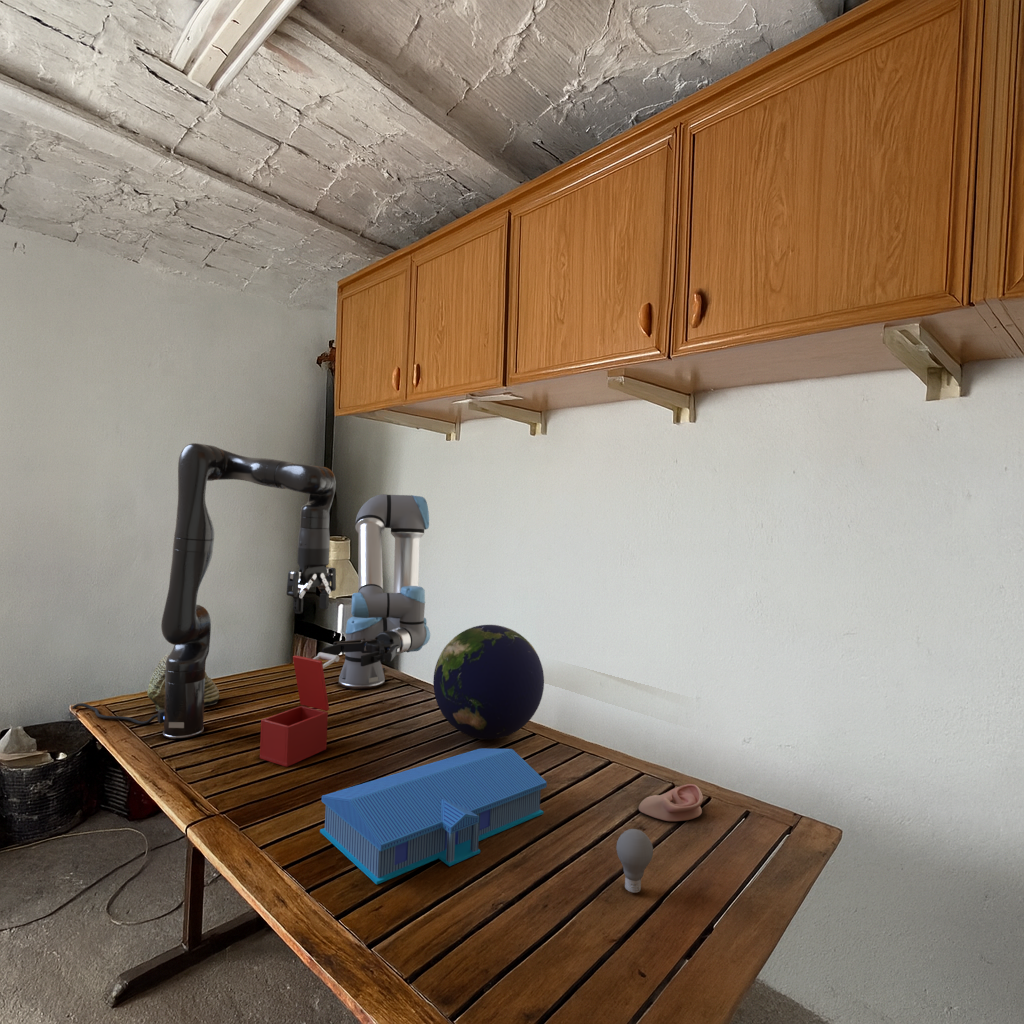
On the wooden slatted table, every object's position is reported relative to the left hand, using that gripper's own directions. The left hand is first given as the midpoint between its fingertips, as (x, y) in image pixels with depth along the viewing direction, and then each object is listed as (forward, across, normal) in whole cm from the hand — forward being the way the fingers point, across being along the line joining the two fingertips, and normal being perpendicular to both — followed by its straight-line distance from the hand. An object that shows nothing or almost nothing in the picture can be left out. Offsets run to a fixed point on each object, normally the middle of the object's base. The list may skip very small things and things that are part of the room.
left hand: (311, 610), depth 158 cm
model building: (+35, -14, -49) cm, 62 cm away
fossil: (+35, +3, +52) cm, 62 cm away
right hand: (+14, +12, 0) cm, 18 cm away
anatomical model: (+35, +18, -87) cm, 95 cm away
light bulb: (+35, -14, -88) cm, 96 cm away
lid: (+18, 0, 0) cm, 18 cm away
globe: (+35, +32, -34) cm, 58 cm away
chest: (+35, -4, 0) cm, 35 cm away
